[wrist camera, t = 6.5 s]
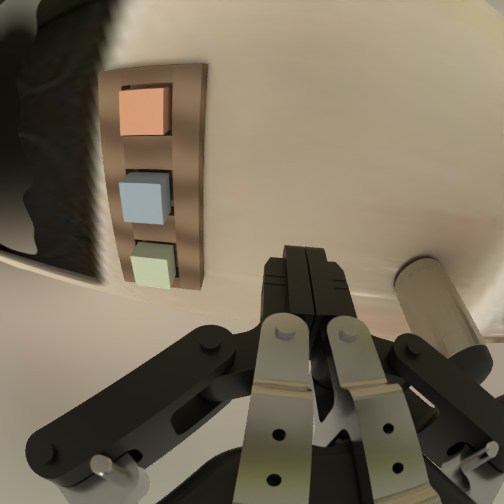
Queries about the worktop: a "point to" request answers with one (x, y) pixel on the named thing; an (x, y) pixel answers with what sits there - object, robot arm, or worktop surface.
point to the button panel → (159, 164)
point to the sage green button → (153, 265)
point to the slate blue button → (145, 197)
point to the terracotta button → (145, 110)
